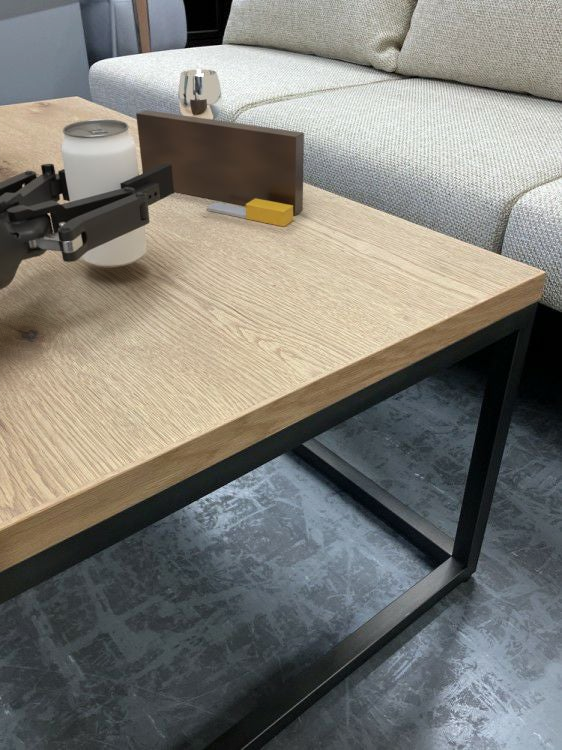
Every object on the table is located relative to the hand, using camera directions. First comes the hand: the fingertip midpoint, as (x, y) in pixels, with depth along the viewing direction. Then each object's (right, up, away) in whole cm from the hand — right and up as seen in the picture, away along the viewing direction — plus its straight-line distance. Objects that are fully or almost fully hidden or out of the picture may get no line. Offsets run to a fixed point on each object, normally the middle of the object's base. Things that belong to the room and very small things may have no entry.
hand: (138, 172), depth 68 cm
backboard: (+6, +2, +19) cm, 20 cm away
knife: (+10, -1, +14) cm, 17 cm away
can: (-2, -8, 0) cm, 8 cm away
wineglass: (+3, +9, +30) cm, 31 cm away
